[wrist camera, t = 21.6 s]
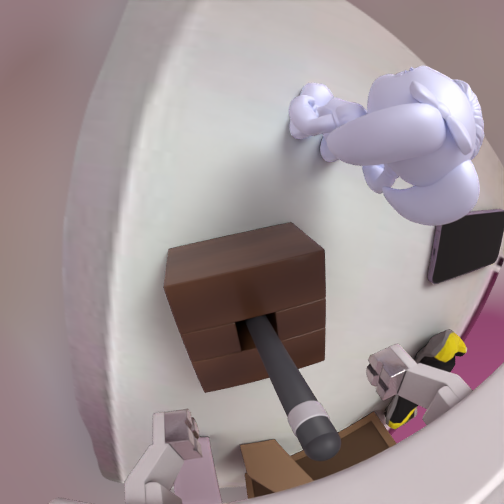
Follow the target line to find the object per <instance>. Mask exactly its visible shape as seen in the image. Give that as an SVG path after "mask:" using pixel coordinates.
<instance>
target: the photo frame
mask: <svg viewBox="0 0 504 504" xmlns="http://www.w3.org/2000/svg"><path fill="white" fill-rule="evenodd" d="M338 434H339V436H340V438H341V447H340V450H339V451H338V453H337V454H336V455H335V456H334V457H333V458H331V459H329V460H326V461H315V460H312V459H310V458H309V457H308V456H307V455H306V454H305V452H304V450H303V451H301V452H299V453H296V454H294V455H292V456H289V455H288V454H287V452H286V451H285V450H284V449H283V448H282V447H281V446H280V445H279V444H278V443H277V441H276V440H275V439H273V440H268V441H263V442H257V443H251V444H244V445H240V448H241V452H242V456H243V460H244V464H245V467H246V471H247V473H245V480H246V488H247V495H248V499H250V498H255V497H259V496H264V495H268V494H272V493H276V492H280V491H283V490H287V489H290V488H294V487H297V486H300V485H304V484H307V483H310V482H313V481H315V480H318V479H321V478H324V477H327V476H329V475H332V474H334V473H337V472H339V471H342V470H344V469H347V468H349V467H351V466H353V465H356V464H358V463H360V462H362V461H364V460H367V459H369V458H371V457H373V456H375V455H377V454H379V453H381V452H383V451H384V450H386V449H388V448H390V447H392V446H394V445H396V442H395V441H394V439H393V438H392V437H391V435H390V434H389V432H388V431H387V429H386V428H385V427H384V425H383V424H382V422H381V421H380V419H379V418H378V417H377V415H376V414H375V412H372V413H371V414H369V415H368V416H366V417H364V418H363V419H361V420H359V421H358V422H356V423H354V424H353V425H351V426H349V427H348V428H346V429H344V430H342V431H340V432H339V433H338Z"/></svg>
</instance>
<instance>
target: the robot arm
mask: <svg viewBox="0 0 504 504" xmlns="http://www.w3.org/2000/svg"><path fill="white" fill-rule="evenodd" d="M368 361H369V363H370V364H369V365H368V366H367V369H366V375H367V378H368V381H369V382H370V384H371V385H373V386H376V392H377V394H378V395H379V396H380V398H381V399H382V401H384V400H386V399H388V398H390V397H392V396H394V395H396V394H397V395H399V396H401V397H403V398H405V399H407V400H409V401H411V402H413V403H415V404H417V405H420V406H422V407H424V408H426V409H427V411H426V412H425V414H424V416H423V421H424V422H425V423H426V425H427V426H425V427H424V428H422V429H421V430H419V431H417V432H416V433H414V434H413V435H411V436H409V437H408V438H406V439H404V440H403V441H401V442H400V443H397V444H396V445H394V446H392V447H390V448H388V449H386V450H384V451H383V452H381V453H379V454H377V455H375V456H373V457H371V458H369V459H367V460H364V461H362V462H360V463H358V464H356V465H353V466H351V467H349V468H347V469H344V470H342V471H339V472H337V473H334V474H332V475H329V476H327V477H324V478H321V479H318V480H315V481H313V482H310V483H307V484H304V485H300V486H297V487H294V488H290V489H287V490H283V491H280V492H276V493H272V494H268V495H264V496H259V497H255V498H250V499H245V500H240V501H234V502H227V503H220V504H504V363H503V364H502V365H501V366H500V367H499V368H498V369H497V370H496V371H495V372H493V374H491V375H490V376H489V377H488V378H487V379H486V380H485V381H484V382H483V383H482V384H481V385H479V386H478V387H477V388H476V389H475V390H472V389H471V388H470V387H469V386H468V385H467V384H466V383H465V382H464V381H463V379H462V378H461V377H460V376H459V375H456V374H453V373H450V372H447V371H443V370H440V369H437V368H434V367H431V366H428V365H425V364H421V363H419V364H417V363H416V362H415V361H414V360H413V359H412V358H411V356H410V355H409V354H408V353H407V352H406V351H405V350H404V349H403V348H402V347H401V346H400V345H399V344H394V345H392V346H390V347H388V348H385V349H383V350H381V351H379V352H377V353H374V354H372V355H370V357H369V359H368ZM199 437H200V436H199V430H198V426H197V423H196V421H195V419H194V418H193V417H191V412H190V411H189V409H183V410H176V411H168V412H159V413H154V414H153V445H149V447H148V448H147V450H146V451H145V453H144V454H143V456H142V457H141V459H140V460H139V461H138V463H137V464H136V466H135V467H134V469H133V470H132V472H131V473H130V474H129V476H128V477H127V479H126V480H125V504H182V499H181V498H180V497H179V496H177V495H175V494H174V493H172V492H171V491H170V490H171V488H172V486H173V484H174V482H175V480H176V478H177V476H178V473H179V471H180V469H181V467H182V465H183V463H184V460H189V459H196V458H202V457H203V456H202V450H201V444H200V443H199V442H198V438H199ZM49 504H92V503H86V502H80V501H75V500H70V499H65V498H55V499H53V500H52V501H51V502H50V503H49Z"/></svg>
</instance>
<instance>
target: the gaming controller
mask: <svg viewBox="0 0 504 504" xmlns="http://www.w3.org/2000/svg"><path fill="white" fill-rule="evenodd" d="M466 352H467V348H466V346H465V344H464V342H463V341H462V340H461V339H460V337H459V336H458V335H457V334H455V333H454V332H453V331H452V330H450V329H449V330H446V331H444V332H441V333H439V334H437V335H434V336H433V337H432V338H431V339H430V341H429V342H428V344H427V346H426V347H424V348H422V349H421V350H420V351H419V352H418V354H417V355H416V358H415V361H416V363H417V364H419V363H421V364H425V365H428V366H431V367H434V368H437V369H440V370H443V371H447V372H451V370H452V369H453V367H454V366H455V356H463V355H464V354H465V353H466ZM417 406H418V405H417V404H415V403H413V402H411V401H409V400H407V399H405V398H403V397H401V396H399V395H397V394H396V395H395V396H394V398H393V399H392V401H391V403H390V405H389V407H388V410H387V415H386V424H387V425H388V426H389V427H391V428H393V429H396V428H398V427H399V426H401V425H403V424H404V423H406V421H407V420H408V419H409V417H410V416H411V414H412V413H413V411H414V410H415V409H416V407H417Z"/></svg>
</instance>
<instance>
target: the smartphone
mask: <svg viewBox="0 0 504 504" xmlns="http://www.w3.org/2000/svg"><path fill="white" fill-rule="evenodd" d="M503 232H504V210H502V209H493V210H482V211H472V212H469V213H468V214H466V215H465V216H464V217H462V218H460V219H458V220H456V221H454V222H451V223H448V224H444V225H437V226H436V230H435V236H434V243H433V249H432V254H431V260H430V265H429V270H428V280H429V281H430V282H432V283H433V284H438V283H441V282H444V281H447V280H450V279H453V278H456V277H458V276H461V275H464V274H467V273H470V272H472V271H475V270H478V269H480V268H483V267H486V266H488V265H491V264H493V263H495V261H496V260H497V258H498V255H499V251H500V246H501V242H502V237H503Z"/></svg>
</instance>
